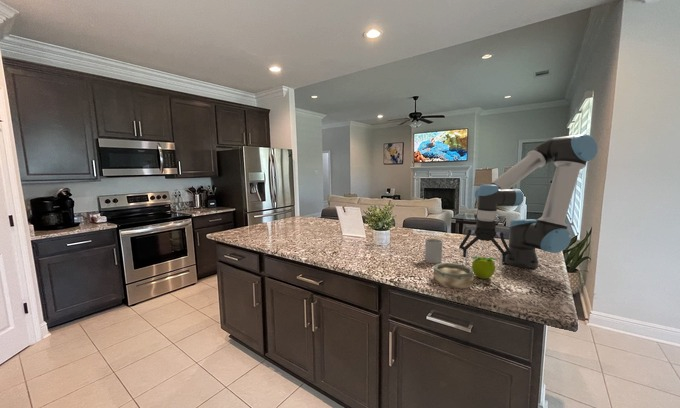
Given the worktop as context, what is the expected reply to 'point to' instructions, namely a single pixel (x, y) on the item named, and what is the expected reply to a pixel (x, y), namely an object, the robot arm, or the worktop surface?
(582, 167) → the robot arm
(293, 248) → the worktop surface
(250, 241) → the worktop surface
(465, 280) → the shallow stone bowl
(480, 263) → the fruit
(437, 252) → the mug
